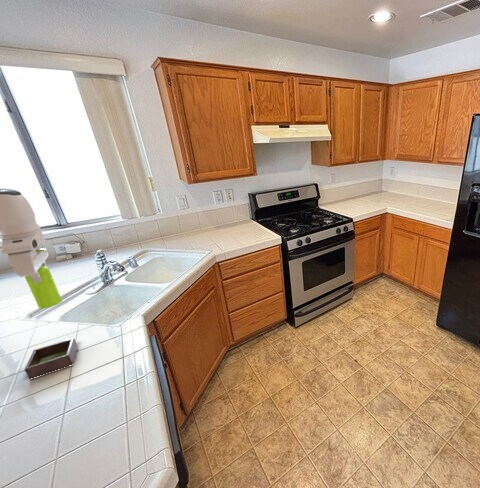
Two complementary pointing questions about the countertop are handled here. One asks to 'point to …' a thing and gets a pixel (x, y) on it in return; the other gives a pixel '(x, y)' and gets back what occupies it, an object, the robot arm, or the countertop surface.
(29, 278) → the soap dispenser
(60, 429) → the countertop surface
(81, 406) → the countertop surface
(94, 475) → the countertop surface
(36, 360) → the tray
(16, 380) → the countertop surface
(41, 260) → the robot arm
